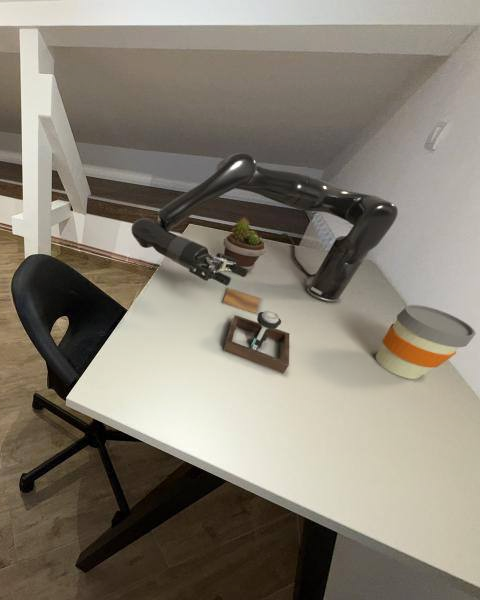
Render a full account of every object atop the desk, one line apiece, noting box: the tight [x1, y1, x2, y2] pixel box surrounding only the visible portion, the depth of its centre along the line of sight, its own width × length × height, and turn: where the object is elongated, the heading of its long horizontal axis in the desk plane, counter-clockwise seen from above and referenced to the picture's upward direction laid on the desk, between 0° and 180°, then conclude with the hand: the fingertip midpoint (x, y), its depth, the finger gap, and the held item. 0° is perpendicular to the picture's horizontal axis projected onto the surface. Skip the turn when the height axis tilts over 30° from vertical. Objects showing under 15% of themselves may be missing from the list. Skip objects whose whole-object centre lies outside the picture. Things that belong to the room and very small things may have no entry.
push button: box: [249, 310, 282, 351], centre depth 80 cm, size 7×5×10 cm
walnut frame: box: [223, 314, 290, 374], centre depth 82 cm, size 14×14×3 cm
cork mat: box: [222, 287, 260, 314], centre depth 101 cm, size 10×10×1 cm
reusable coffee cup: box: [375, 304, 476, 380], centre depth 76 cm, size 13×13×15 cm
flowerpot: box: [222, 217, 267, 272], centre depth 115 cm, size 14×15×20 cm
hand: (238, 277), depth 80 cm, fingers open, 8 cm apart
